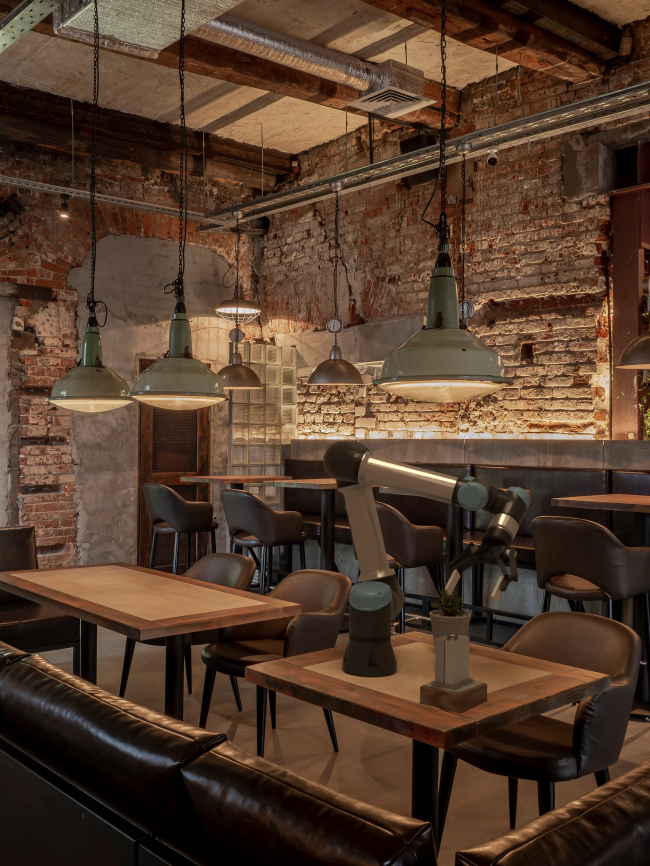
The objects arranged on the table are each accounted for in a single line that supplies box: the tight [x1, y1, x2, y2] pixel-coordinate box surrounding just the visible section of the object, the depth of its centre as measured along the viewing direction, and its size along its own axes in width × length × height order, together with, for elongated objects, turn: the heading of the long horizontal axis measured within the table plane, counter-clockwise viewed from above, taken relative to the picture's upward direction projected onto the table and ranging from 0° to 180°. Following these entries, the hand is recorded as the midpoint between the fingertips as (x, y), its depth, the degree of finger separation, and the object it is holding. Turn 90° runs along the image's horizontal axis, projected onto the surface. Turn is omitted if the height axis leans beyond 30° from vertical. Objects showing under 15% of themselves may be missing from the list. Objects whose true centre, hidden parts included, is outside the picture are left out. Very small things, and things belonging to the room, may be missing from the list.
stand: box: [419, 679, 488, 714], centre depth 193 cm, size 11×13×4 cm
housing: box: [430, 633, 474, 690], centre depth 193 cm, size 6×9×12 cm
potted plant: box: [429, 585, 472, 647], centre depth 244 cm, size 13×14×20 cm
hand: (470, 595), depth 207 cm, fingers open, 13 cm apart
